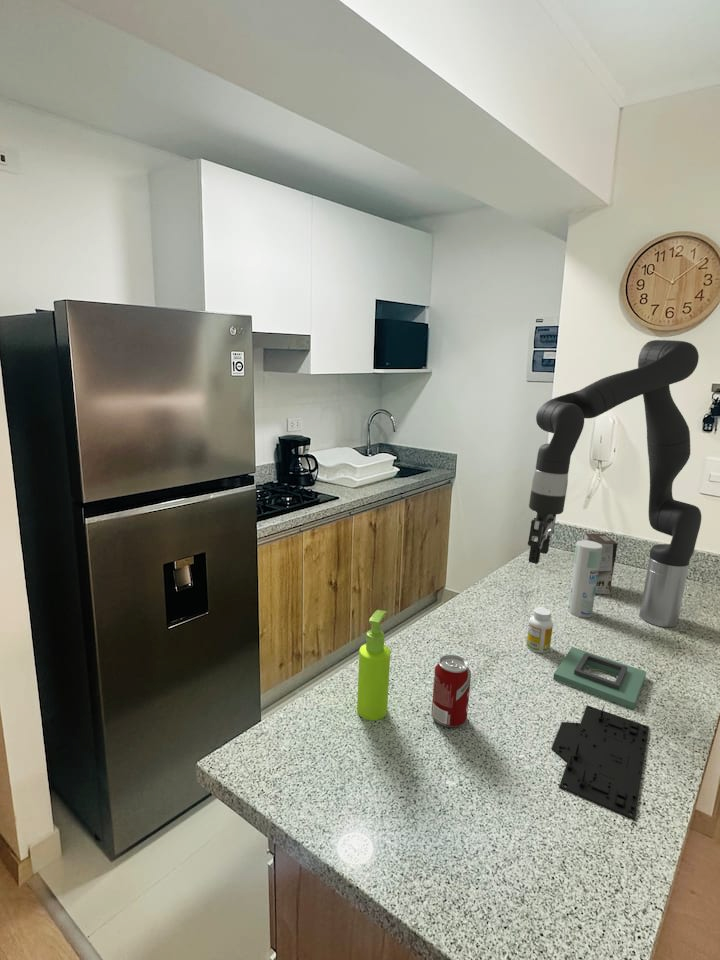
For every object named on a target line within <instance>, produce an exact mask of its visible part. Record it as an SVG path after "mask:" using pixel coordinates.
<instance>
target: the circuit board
mask: <svg viewBox="0 0 720 960" xmlns="http://www.w3.org/2000/svg"><path fill="white" fill-rule="evenodd" d="M604 708H605V707H604V706H602V709H600V708H598V707H597V708H596V707H593V706H591V705H588V704H587V705H586V706H585V710H584V713H583V714H582V717H581V721H580V722H568V721H561V723H560V726H559V728H558V731H557V733H556V736H555V739H554V740H553V743H552V746H551V751H552V752H554V753H555V754H556V755H557V756H559V757H560V758H561V760H563V761H564V762H566V765H565V769H564V771H563V774H562V778H561V779H560V783H559V786H558V787H559V788H558V789H561V790H563V791H565V790H566V792H568V793H570V794H572V793H573V795H575V796H577V797H580V798H582V799H583V800H587V801H589V802H591V803H594V804H596V805H598V806H601V807H603V808H605V809H607V810H610V811H611V812H614V813H616V814H618V815H620V816H621V815H622V816H623V817H626V818H628V819H631V820H632V821H636V816H637V811H638V803H639V796H640V789H641V783H642V776H643V770H644V762H645V757H646V751H647V749H646V748H647V741H648V736H649V729H650V726H648V725H646V724H643V723H640V722H638V721H634V720H631V719H628V718H626V717H622V716H620V715H617V714H615V713H611V712H607V711H605V710H604Z"/></svg>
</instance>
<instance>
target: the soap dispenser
mask: <svg viewBox="0 0 720 960" xmlns="http://www.w3.org/2000/svg"><path fill="white" fill-rule="evenodd" d="M387 613H388V611H387V610H381V609H377V610H375V611H374V613H373V614H372V616H371V617H370V618H369V622H368V623H369V624H371V628H370V629H369V630H368V631H367V632H366V638H365V639H366V643H364V644H362V645H361V646H360V648H359V650H358V651H359V653H358V672H357V673H358V675H357V679H358V680H357V700H356V703H357V704H356V712H357V714H358V716H359V717H361V718H362V719H364V720H367V721H379V720H382V719H384V718H385V717H386V715H388V714H387V713H388V701H389V698H388V697H389V681H390V665H391V664H390V662H391V649H390V648H389V647H388V645H386V644H385V632H384V631H382V630H381V625H382V624H381V622H382V620H383V619H384V617H385V616H386V615H387Z"/></svg>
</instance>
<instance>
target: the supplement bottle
mask: <svg viewBox="0 0 720 960" xmlns="http://www.w3.org/2000/svg"><path fill="white" fill-rule="evenodd" d="M528 621H529V622H528V630H527V637H526V638H527V639H526V647H527V648H528V649H529V650H530V651H532V652H534V653H537V654H541V653H542V654H545V653H548V652H549V651H550V649H551V643H552V634H553V627H554V623H553V621H552V611H551V610H550V609H548V608H545V607H541V606H540V607H535V608H534V609H533V613H532V616H530V618H529V620H528Z"/></svg>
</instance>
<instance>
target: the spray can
mask: <svg viewBox="0 0 720 960" xmlns="http://www.w3.org/2000/svg"><path fill="white" fill-rule="evenodd" d="M602 547H603V546H602V545H601V544H599V543H597V542H594V541H588V540H584V539H581V540H578V541H576V542H575V552H574V557H573V558H574V559H573V565H572V576H571V582H570V591H569V595H568V596H569V598H568V605H567V611H568V612H569V614H571V615H572V616H575V617H579V618H582V619H583V618H584V619H585V618H586V619H587V618H590V617H591V616H592V614H593V609H594V603H595V599H596V598H595V596H596V594H595V591H596V585H597V579H598V573H599V566H600V560H601V554H602Z"/></svg>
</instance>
